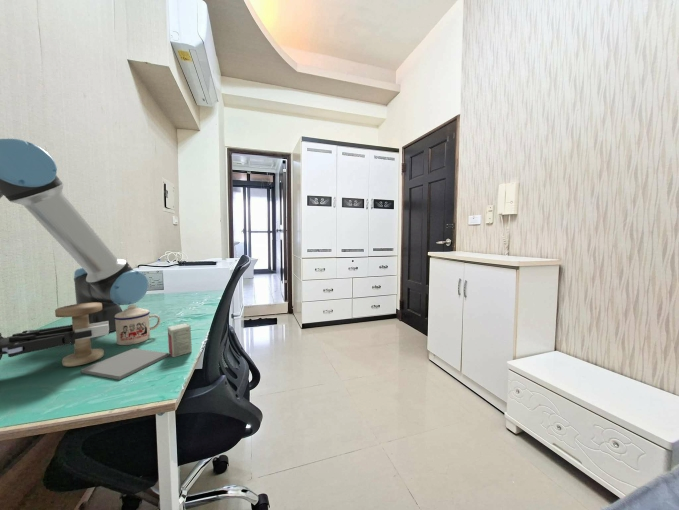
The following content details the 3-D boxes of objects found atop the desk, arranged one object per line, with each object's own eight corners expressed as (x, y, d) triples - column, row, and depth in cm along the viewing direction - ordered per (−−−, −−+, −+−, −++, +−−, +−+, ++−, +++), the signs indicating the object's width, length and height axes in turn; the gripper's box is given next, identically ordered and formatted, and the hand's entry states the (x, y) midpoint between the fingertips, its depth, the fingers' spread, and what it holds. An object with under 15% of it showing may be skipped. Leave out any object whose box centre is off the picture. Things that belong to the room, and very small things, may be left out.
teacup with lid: (117, 348, 80) (114, 310, 80) (114, 340, 87) (112, 305, 86) (163, 338, 89) (161, 303, 88) (158, 331, 95) (156, 299, 94)
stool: (91, 350, 78) (87, 301, 77) (114, 353, 75) (110, 303, 74) (50, 365, 69) (45, 310, 68) (75, 369, 67) (70, 312, 66)
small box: (187, 348, 80) (186, 322, 80) (192, 352, 77) (190, 325, 77) (168, 353, 77) (167, 326, 76) (172, 358, 74) (170, 330, 73)
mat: (133, 350, 79) (133, 348, 79) (168, 355, 75) (168, 353, 75) (80, 372, 66) (80, 369, 66) (119, 379, 63) (119, 376, 63)
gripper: (-13, 354, 67) (110, 332, 82) (-44, 381, 54) (108, 349, 69) (-17, 325, 66) (108, 308, 81) (-48, 346, 54) (106, 321, 69)
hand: (108, 327), depth 75 cm, fingers closed on stool, 3 cm apart
